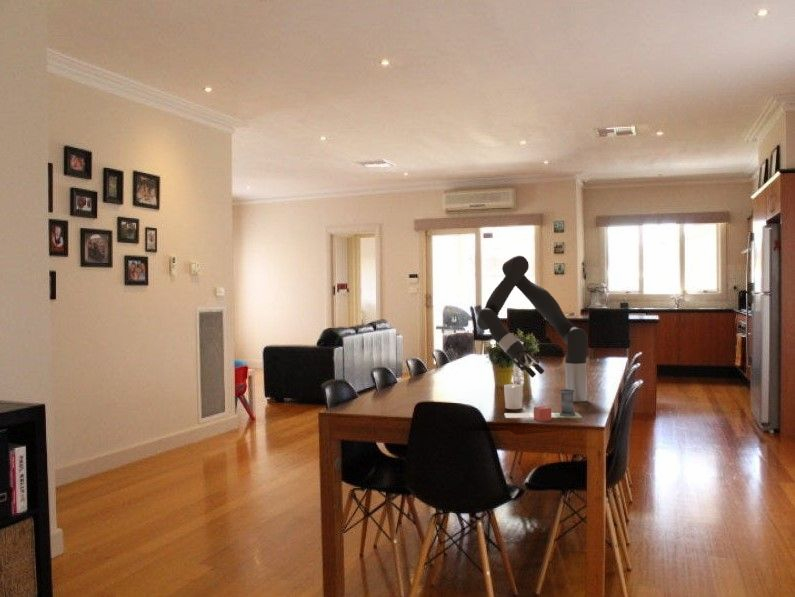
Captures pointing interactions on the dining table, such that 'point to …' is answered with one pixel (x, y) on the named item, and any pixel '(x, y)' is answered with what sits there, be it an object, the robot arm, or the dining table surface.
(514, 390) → the white cup
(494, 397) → the dining table surface
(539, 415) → the red die
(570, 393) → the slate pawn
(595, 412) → the dining table surface
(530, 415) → the game track
